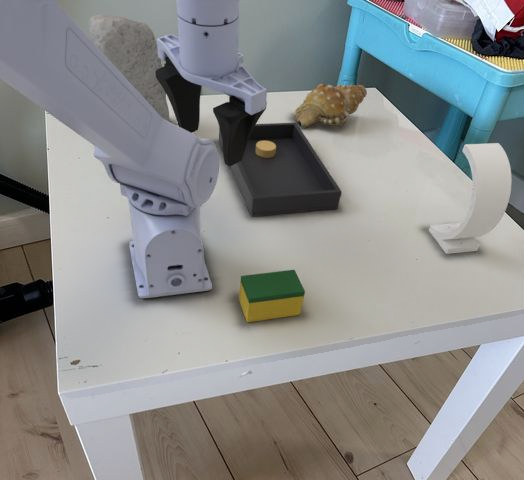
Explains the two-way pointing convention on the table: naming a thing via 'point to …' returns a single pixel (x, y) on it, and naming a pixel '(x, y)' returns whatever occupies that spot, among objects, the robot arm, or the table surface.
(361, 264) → the table surface
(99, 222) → the table surface
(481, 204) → the headphone stand
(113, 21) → the decorative stone
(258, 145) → the tan flat disc
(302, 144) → the tray
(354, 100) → the seashell
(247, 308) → the sponge
